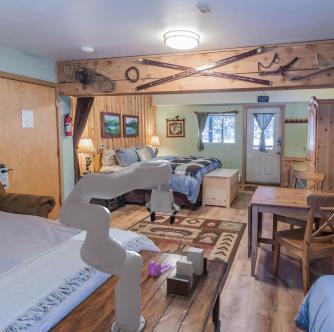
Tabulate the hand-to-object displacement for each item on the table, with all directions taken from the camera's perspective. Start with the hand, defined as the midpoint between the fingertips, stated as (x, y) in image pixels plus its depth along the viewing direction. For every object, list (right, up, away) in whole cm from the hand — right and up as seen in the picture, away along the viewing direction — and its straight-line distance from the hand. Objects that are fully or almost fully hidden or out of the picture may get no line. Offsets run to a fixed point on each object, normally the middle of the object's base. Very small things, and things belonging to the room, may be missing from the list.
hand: (162, 222), depth 127 cm
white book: (+9, -34, +8) cm, 36 cm away
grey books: (+8, -34, +6) cm, 36 cm away
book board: (+10, -34, +13) cm, 38 cm away
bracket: (-7, -33, +24) cm, 41 cm away
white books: (+12, -32, +22) cm, 41 cm away
